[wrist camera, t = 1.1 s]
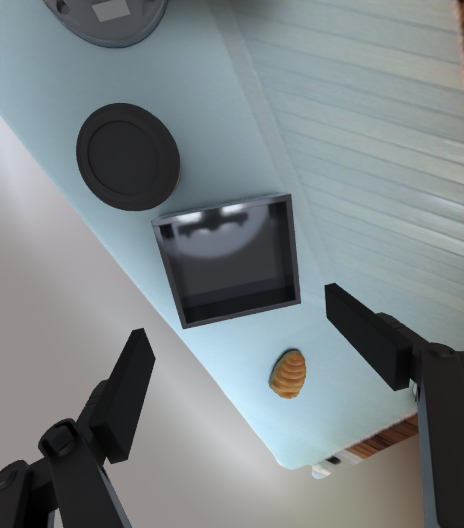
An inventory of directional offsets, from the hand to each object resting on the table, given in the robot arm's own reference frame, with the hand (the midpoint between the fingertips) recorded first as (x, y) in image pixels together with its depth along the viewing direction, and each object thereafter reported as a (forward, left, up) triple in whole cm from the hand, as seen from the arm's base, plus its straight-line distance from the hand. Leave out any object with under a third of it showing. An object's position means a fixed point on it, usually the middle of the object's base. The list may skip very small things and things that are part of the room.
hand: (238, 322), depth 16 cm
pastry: (+28, +8, -23) cm, 37 cm away
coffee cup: (-13, -7, -23) cm, 27 cm away
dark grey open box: (+2, +1, -23) cm, 23 cm away
